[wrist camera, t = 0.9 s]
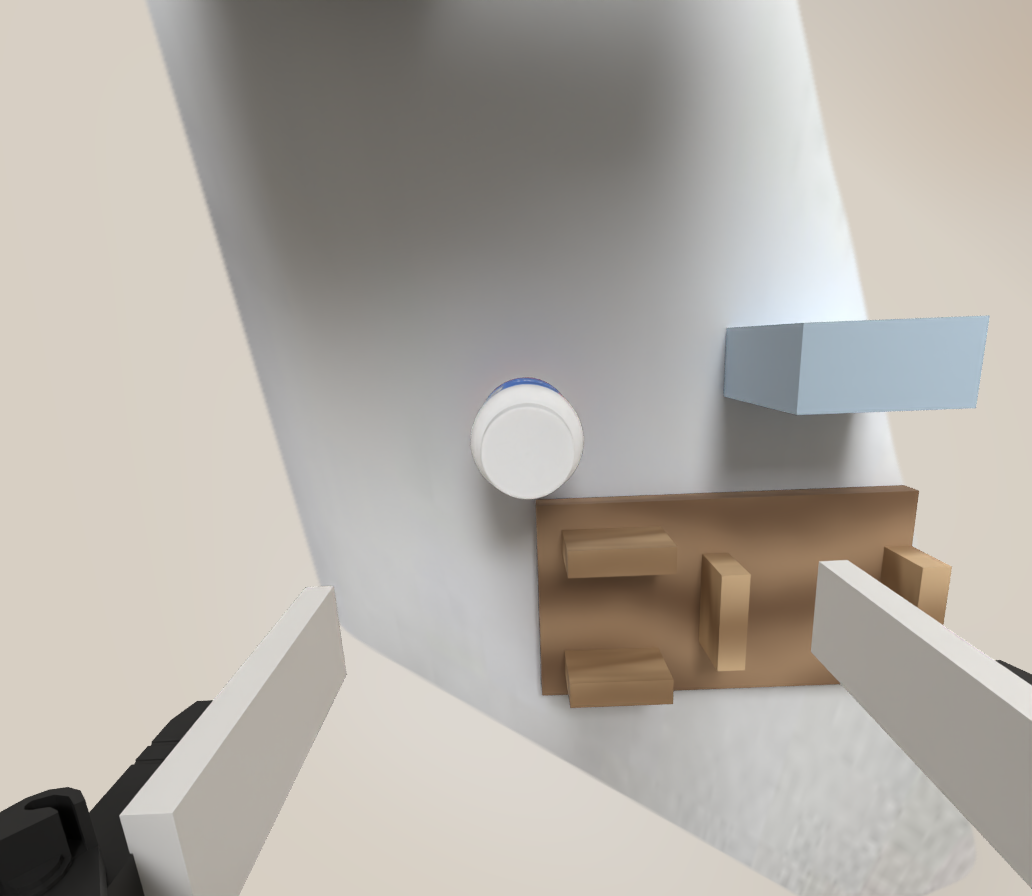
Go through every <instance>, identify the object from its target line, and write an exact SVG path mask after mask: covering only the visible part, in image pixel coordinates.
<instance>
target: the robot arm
mask: <svg viewBox="0 0 1032 896" xmlns="http://www.w3.org/2000/svg"><path fill="white" fill-rule="evenodd" d="M811 652H812V653H813V655H814V656H815V657H816V658H817V659H818V660H819V661H820V662H821V663H822V664H823V665H824V666H825V667H826V669H827V670H828V671H829V672H830V673H831V674H832V675H833V676H834V677H835V678H836V679H837V680H838V681H839V682H840V684H841V685H842V686H843V687H844V688H845V689H846V690H847V691H848V692H849V693H850V694H851V695H852V696H853V697H854V699H855V700H856V701H857V702H858V703H859V704H860V705H861V706H862V707H863V708H864V709H865V710H866V711H867V713H868V714H869V715H870V716H871V717H872V718H873V719H874V720H875V721H876V722H877V723H878V724H879V725H880V726H881V728H882V729H883V730H884V731H885V732H886V733H887V734H888V735H889V736H890V737H891V738H892V739H893V740H894V741H895V743H896V744H897V745H898V746H899V747H900V748H901V749H902V750H903V751H904V752H905V753H906V754H907V755H908V757H909V758H910V759H911V760H912V761H913V762H914V763H915V764H916V765H917V766H918V767H919V768H920V769H921V770H922V772H923V773H924V774H925V775H926V776H927V777H928V778H929V779H930V780H931V781H932V782H933V783H934V784H935V785H936V787H937V788H938V789H939V790H940V791H941V792H942V793H943V794H944V795H945V796H946V797H947V798H948V799H949V801H950V802H951V803H952V804H953V805H954V806H955V807H956V808H957V809H958V810H959V811H960V812H961V813H962V814H963V816H964V817H965V818H966V819H967V820H968V821H969V822H970V823H971V824H972V825H973V826H974V827H975V828H976V829H977V831H978V832H979V833H980V834H981V835H982V836H983V837H984V838H985V839H986V840H987V841H988V842H989V843H990V845H991V846H992V847H993V848H994V849H995V850H996V851H997V852H998V853H999V854H1000V855H1001V856H1002V857H1003V858H1004V859H1005V861H1006V862H1007V863H1008V864H1009V865H1010V866H1011V867H1012V868H1013V869H1014V870H1015V871H1016V872H1017V873H1018V875H1020V877H1021V878H1022V879H1023V880H1024V881H1025V882H1026V883H1027V884H1028V885H1029V886H1030V887H1031V889H1032V674H1030V673H1027V672H1025V671H1023V670H1021V669H1019V668H1016V667H1014V666H1012V665H1010V664H1007V663H1006V662H1003V661H1001V660H993V659H992V658H991V657H989V656H987V655H986V654H985V653H983V652H982V651H980V650H979V649H977V648H976V647H974V646H973V645H972V644H970V643H969V642H967V641H966V640H964V639H963V638H961V637H960V636H958V635H957V634H955V633H954V632H952V631H951V630H950V629H948V628H947V627H945V626H944V625H942V624H941V623H939V622H938V621H936V620H935V619H933V618H932V617H930V616H929V615H928V614H926V613H925V612H923V611H922V610H920V609H919V608H917V607H916V606H914V605H913V604H911V603H910V602H908V601H907V600H905V599H904V598H903V597H901V596H900V595H898V594H897V593H895V592H894V591H892V590H891V589H889V588H888V587H886V586H885V585H883V584H882V583H881V582H879V581H878V580H876V579H875V578H873V577H872V576H870V575H869V574H867V573H866V572H864V571H863V570H861V569H860V568H858V567H857V566H856V565H854V564H853V563H851V562H850V561H848V560H836V561H819V565H818V577H817V588H816V599H815V611H814V622H813V633H812V644H811ZM346 675H347V674H346V667H345V661H344V654H343V647H342V640H341V633H340V626H339V619H338V612H337V605H336V598H335V592H334V586H320V587H305V589H304V590H303V591H302V592H301V594H300V595H299V596H298V597H297V598H296V600H295V601H294V602H293V603H292V605H291V606H290V607H289V608H288V609H287V611H286V612H285V613H284V614H283V615H282V617H281V618H280V619H279V620H278V622H277V623H276V624H275V625H274V627H273V628H272V629H271V630H270V631H269V633H268V634H267V635H266V636H265V638H264V639H263V640H262V641H261V643H260V644H259V645H258V646H257V647H256V649H255V650H254V651H253V652H252V654H251V655H250V656H249V657H248V658H247V660H246V661H245V662H244V663H243V665H242V666H241V667H240V668H239V669H238V671H237V672H236V673H235V674H234V676H233V677H232V678H231V679H230V680H229V682H228V683H227V684H226V685H225V687H224V688H223V689H222V690H221V692H220V693H219V694H218V695H217V697H216V698H215V699H214V700H211V701H197V702H195V703H194V704H192V705H191V706H190V707H188V708H187V709H185V710H184V711H183V712H181V713H180V714H179V715H177V716H176V717H175V718H173V719H172V720H171V721H170V722H169V723H168V724H167V725H166V726H165V727H164V728H163V730H162V731H161V732H160V733H159V734H158V735H157V736H156V738H155V739H154V740H153V741H152V745H151V746H148V747H147V748H146V749H145V750H144V751H143V752H142V753H141V755H140V756H139V757H138V758H137V759H136V762H135V764H134V765H131V766H130V767H129V768H128V769H127V770H126V771H125V773H124V774H123V775H122V776H121V777H120V778H119V779H118V781H117V782H116V783H115V784H114V785H113V786H112V787H111V789H110V790H109V791H108V792H107V793H106V794H105V795H104V796H103V798H102V799H101V800H100V801H99V802H98V803H97V804H96V805H95V807H94V808H93V809H92V810H91V811H90V812H88V808H87V805H86V802H85V799H84V797H83V795H82V793H81V791H80V790H77V789H73V788H69V787H66V788H58V789H51V790H47V791H44V792H41V793H39V794H36V795H33V796H30V797H28V798H25V799H23V800H22V801H20V802H18V803H16V804H14V805H12V806H11V807H9V808H7V809H5V810H3V811H1V812H0V896H239V894H240V892H241V890H242V888H243V886H244V884H245V882H246V880H247V878H248V876H249V874H250V872H251V870H252V868H253V865H254V863H255V861H256V859H257V857H258V855H259V853H260V851H261V849H262V847H263V845H264V843H265V840H266V839H267V837H268V835H269V833H270V831H271V829H272V827H273V824H274V822H275V820H276V818H277V816H278V814H279V812H280V810H281V808H282V806H283V804H284V802H285V800H286V798H287V796H288V794H289V792H290V790H291V788H292V786H293V783H294V781H295V779H296V777H297V775H298V773H299V771H300V769H301V767H302V765H303V763H304V761H305V759H306V757H307V754H308V753H309V751H310V748H311V747H312V744H313V742H314V740H315V738H316V736H317V734H318V732H319V730H320V728H321V726H322V724H323V722H324V720H325V718H326V716H327V714H328V712H329V709H330V707H331V705H332V703H333V701H334V699H335V697H336V695H337V693H338V691H339V689H340V687H341V685H342V683H343V681H344V679H345V677H346Z"/></svg>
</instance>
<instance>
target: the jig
mask: <svg viewBox="0 0 1032 896" xmlns="http://www.w3.org/2000/svg"><path fill="white" fill-rule="evenodd" d="M918 494H919V491H918V490H915V489H913V488H910V487H907V486H904V485H899V486H873V487H847V488H822V489H796V490H771V491H745V492H719V493H694V494H668V495H643V496H617V497H592V498H566V499H540V500H536V527H537V558H538V589H539V620H540V651H541V682H542V695H569V701H570V708H581V707H607V706H633V705H659V704H673V690H698V689H724V688H750V687H776V686H802V685H828V684H840V682H839V681H838V680H837V679H836V678H835V677H834V676H833V675H832V674H831V673H830V672H829V671H828V670H827V669H826V667H825V666H824V665H823V664H822V663H821V662H820V661H819V660H818V659H817V658H816V657H815V656H814V655H813V653H812V652H811V644H812V633H813V622H814V611H815V599H816V588H817V577H818V565H819V561H836V560H848V561H850V562H851V563H853V564H854V565H856V566H857V567H858V568H860V569H861V570H863V571H864V572H866V573H867V574H869V575H870V576H872V577H873V578H875V579H876V580H878V581H879V582H881V583H882V584H883V585H885V586H886V587H888V588H889V589H891V590H892V591H894V592H895V593H897V594H898V595H900V596H901V597H903V598H904V599H905V600H907V601H908V602H910V603H911V604H913V605H914V606H916V607H917V608H919V609H920V610H922V611H923V612H925V613H926V614H928V615H929V616H930V617H932V618H933V619H935V620H936V621H938V622H939V623H941V624H942V625H943V623H944V617H945V610H946V603H947V596H948V590H949V583H950V576H951V569H952V567H951V566H949V565H947V564H945V563H943V562H941V561H940V560H938V559H936V558H934V557H932V556H930V555H928V554H926V553H924V552H922V551H920V550H918V549H916V548H914V547H912V541H913V533H914V526H915V518H916V510H917V502H918Z"/></svg>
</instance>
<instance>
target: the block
mask: <svg viewBox="0 0 1032 896" xmlns="http://www.w3.org/2000/svg"><path fill="white" fill-rule="evenodd" d="M988 323H989V316H966V317H941V318H915V319H891V320H865V321H840V322H815V323H795V324H780V325H766V326H751V327H736V328H727V334H726V356H725V378H724V397H728V398H732V399H736V400H740V401H743V402H747V403H751V404H755V405H759V406H763V407H767V408H771V409H775V410H779V411H783V412H787V413H791V414H794V415H811V414H836V413H862V412H887V411H913V410H938V409H962V408H976V404H977V397H978V390H979V384H980V377H981V370H982V364H983V356H984V350H985V343H986V337H987V330H988Z"/></svg>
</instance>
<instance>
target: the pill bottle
mask: <svg viewBox="0 0 1032 896" xmlns="http://www.w3.org/2000/svg"><path fill="white" fill-rule="evenodd" d="M583 445H584V435H583V429H582V425H581V422H580V420H579V418H578V416H577V414H576V412H575V410H574V409H573V407H572V406H571V405H570V403H569V402H568V401H567V400H566V399H565V398H564V397H563V396H562V395H561V394H560V392H559V391H558V390H557V389H555V388H554V387H553V386H552V385H550V384H548V383H547V382H545V381H542V380H540V379H536V378H528V377H527V378H517V379H513V380H510V381H507V382H505V383H503V384H502V385H500V386H499V387H497V388H496V389H495V390H494V391H493V392H492V393H491V394H490V396H489V397H488V398H487V400H486V401H485V403H484V404H483V406H482V407H481V409H480V410H479V412H478V414H477V416H476V418H475V421H474V423H473V427H472V431H471V451H472V455H473V458H474V461H475V463H476V465H477V467H478V469H479V471H480V472H481V474H482V475H483V477H484V478H485V479H486V480H487V481H488V482H489V483H490V484H492V485H493V486H494V487H496V488H497V489H498V490H500V491H501V492H503V493H505V494H507V495H509V496H512V497H515V498H519V499H536V498H540V497H543V496H546V495H548V494H550V493H552V492H554V491H555V490H556V489H558V488H559V487H560V486H561V485H563V484H564V483H565V482H566V481H567V480H568V479H569V478H570V477H571V475H572V474H573V473H574V471H575V470H576V468H577V466H578V464H579V462H580V459H581V456H582V452H583Z"/></svg>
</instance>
